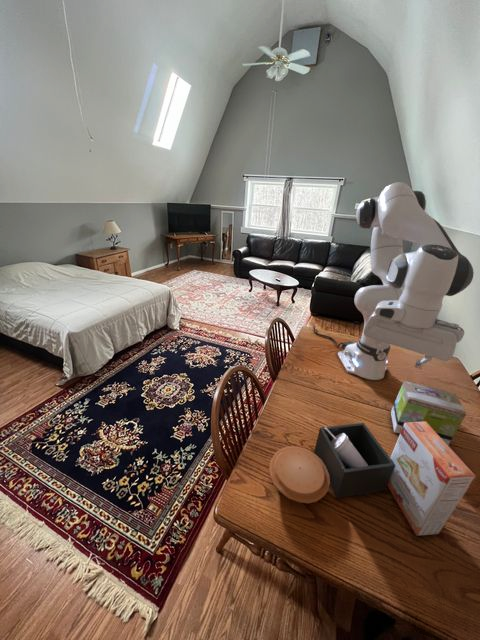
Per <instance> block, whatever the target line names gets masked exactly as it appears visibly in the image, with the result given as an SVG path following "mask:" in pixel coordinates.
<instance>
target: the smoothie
mask: <svg viewBox="0 0 480 640" xmlns="http://www.w3.org/2000/svg"><path fill="white" fill-rule="evenodd" d="M324 427H325V428H324V429H325V430H326V431H327V432H328V433H329V434H330V435H331V436H332V437H333V438H334V439H333V440H332V441H331V443H332V445H333V447H334V449H335V451H336V452H337V454H338V456H339V458H340V459H341V460H342V461H343V462H344V463H345V464H346V465H348V466H349V467H350V468H358V467H366V466H368V464H367V463H366V462H365V460H364V459H363V458H362V456H361V455H360V454H359V452H358V451H357V450H356V448H355V447H354V446H353V444H352V443H351V442H350V440H349V439H348V436H347V435H346V434H345V433H341V434H339V435H337V436H336V437H335V436H334V435H333V434H332V433H331V432H330V431H329V430H328V429H327V428H326V427H327V426H324Z"/></svg>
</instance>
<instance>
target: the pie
mask: <svg viewBox="0 0 480 640" xmlns="http://www.w3.org/2000/svg"><path fill="white" fill-rule="evenodd" d="M268 472H269V477H270V479H271V482H272V485H273V486H274V487H275V488H276V489H277V491H278V492H279V493H280V494H282V495H283V496H284V497H286V498H287V499H289V500H292V501H293V502H297V503H300V504H301V503H302V504H307V505H308V504H312V503H317V502H318V501H320V500H321V499H323V498H324V497H325V496H326V494H327V493H328V492H329V489H330V487H331V486H330V475H329V473H328V470H327V468H326V466H325V465H324V463H323V461H322V460H321V459H320V458H319V457H318V456H317V455H316V454H315V452H313V451H311V450H310V449H308V448H307V449H306V448H304V447H301V446H296V445H295V446H294V445H291V446H284V447H281V448H279V449H278V450H277V451H276V452H275V453H274V455H273V456H272V457H271V459H270V461H269V466H268Z"/></svg>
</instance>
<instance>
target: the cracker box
mask: <svg viewBox="0 0 480 640" xmlns="http://www.w3.org/2000/svg"><path fill="white" fill-rule="evenodd" d="M389 457H390V459H391V460H392V461H393V463H394V464H395V468H394V470H393V472H392V475H391V477H390V479H389V482H388V484H387V486H386V487H387V488H388V490H389V491H390V493H391V495H392V497H393V499H394V500H395V502H396V504H397V506H398V507H399V509H400V510H401V512H402V514H403V516H404V517H405V519H406V521H407V523H408V524H409V526H410V528H411V529H412V531H413V533H414V535H415V536H416V537H419V536H430V535H431V536H432V535H440V533H441V532H442V530H443V528H444V527H445V525H446V524H447V523H448V520H449V519H450V518H451V516H452V514H453V513H454V511H455V510H456V509H457V506H458V505H459V504H460V502H461V500H462V498H463V497H464V496H465V494H466V493H467V491H468V490H469V488H470V486H471V485H472V483H473V482H474V480H475V478H476V475H475V473H474V472H472V470H471V469H470V468H469V467H468V466H467V465H466V463H464V461H463V460H462V459H461V458H460V457H459V456H458V454H456V453H455V451H453V450H452V448H451V447H450V446H449V445H447V444H446V443H445V442H444V441H443V440H442V439H441V438H440V436H439V435H438V434H437V433H436V432H435V431H434V430H433V429H432V428H431V427H430V426H429V424H428V423H427V422H407V423H404V426H403V428H402V430H401V433H399V436H398V438H397V440H396V443H395V445H394V448H393V450H392V452H391V455H390V456H389Z"/></svg>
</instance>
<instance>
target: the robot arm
mask: <svg viewBox="0 0 480 640" xmlns="http://www.w3.org/2000/svg"><path fill="white" fill-rule="evenodd" d="M426 207H427V200H426V196H425V194H424V192H422V191H420V190H412V188H411V187H410V186H409V185H408V184H407V183H405V182H401V181H399V182H393V183H391V184H389V185H387V186H385V187H384V188H383V190H382V191H381V192H380V194H379V195H378V196H376V197H369V198H366V199H364V200H361V202H360V203H359V204H358V206H357V209H356V212H355V218H356V222H357V224H358V227H360V229H369V230H370V229H371V228H373V229H372V233H371V237H370V270H371V272H372V273H373V275H375V276H376V277H378V278H379V279H380V281H381V282H382V284H373V285H366V286H363V287H360V288H359V289H358V290H357V291H356V292H355V294H354V299H353V300H354V301H353V302H354V305H355V307H356V309H357V311H359V312H360V313H361V314H362V316H363V323H364V324H363V329H362V333H361V336H357V338H356V340H357V342H353V341H352V340H351V341H343V342H339V343H338V344H337V342H336V339H334V338H333V337H332V336H329V335H326V334H323V333H322V334H321V333H318V332H317V331H316V326H315V325H313V326H312V328H313V333H315V334H316V335H318V336H320V337H325V338H328V339H331V340H332V341H333V343H334V344H335V347H337V348H339V347H341V349H342V350H340V351H338V353H337V356H338V358H339V360H340V361H341V363H342V365H343V366H344V369H345V370H346V372H347V373H349V374H353V375H356V376H358V377H360V378H363V379H366V380H369V381H370V380H371V381H379V380H382V379H383V378H385V376H386V375H385V374H386V371H387V363H388V362H389V361H388V356H389V353H390V350H391V345H392V346H395V347H397V348H401V349H405V350H408V351H412V352H415V353H419V354H421V355H424V357H423V358H422V359H420V358H417V359H416V361H415V364H414V368H417V369H420V370H421V369H422V368H423V365H425V364H427V363H429V362H430V361H432V358H434V359H437V360H441V361H444V362H448V361H450V360H452V358H453V356H454V353H455V350H456V346H457V343H459V342H461V341H462V339H463V338H464V335H465V330H464V329H463V328H462V326H460V324H457V323H453V322H448V321H445V320H441V319H438V317H439V314H440V312H441V310H442V307H443V301H444V300H443V299H444V298H445V296H446V297H453V296H455V295H458V294H459V293H461V292H463V291H464V290H465V289H467V288H468V287H469V286H470V285H471V283H472V282H473V279H474V274H475V273H474V267H473V265H472V263H471V262H470V260H469V259H468V257H466V256H465V255H464V254H462V253H461V252H460V251H459V249H458V248H457V247H456V246H455V244H454V242H453V241H452V239H451V238H450V236H449V235H448V233H447V232H446V230H445V229H444V227H443V226H442V224H441V223H440V222H439V221H438V220H436V219H435V218H433V217H432V216H430V215H429V214H428V213H427V212H426ZM403 241H406V242H409V243H413V244H416V245H418V246H419V248H418V249H417V250H415V251H411V252H404V246H403V245H404V244H403Z"/></svg>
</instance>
